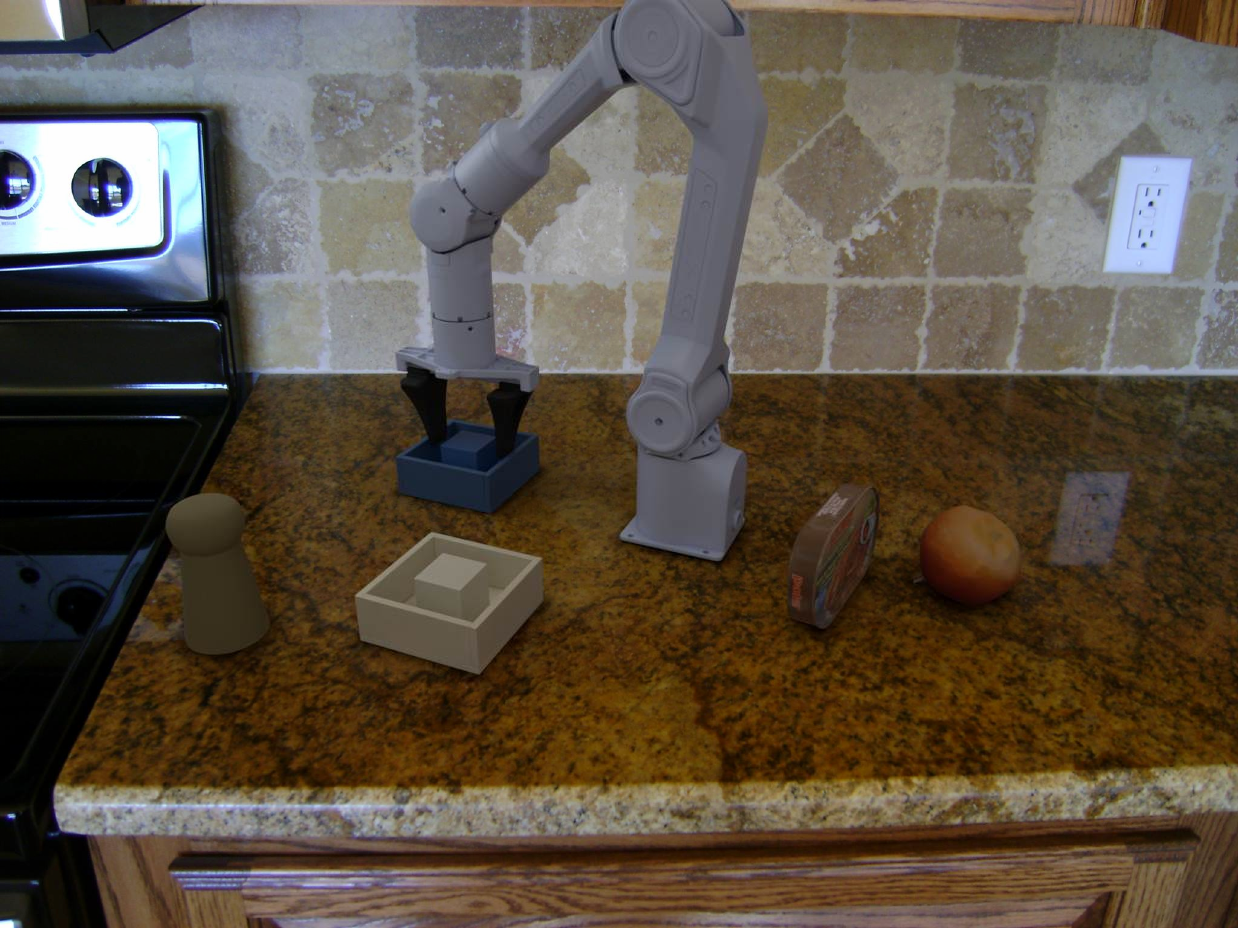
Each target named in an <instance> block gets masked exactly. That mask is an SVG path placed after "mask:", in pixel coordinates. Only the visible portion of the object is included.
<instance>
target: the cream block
mask: <svg viewBox="0 0 1238 928" xmlns="http://www.w3.org/2000/svg"><path fill="white" fill-rule="evenodd" d="M414 582H415V592H416V603H417V607H418V608H421V609H425V610H429V611H432V612H436V613H440V614H443V615H447V616H451V617H455V618H458V619H462V620H466V621H469V622H474V621H475V620H476V619H477V618H478V617H479V616H480V615H481V614H482V613H483V612H484V611H485V609H486V608H487V607H488V606H489V605H490V600H489V583H488V566H487V564H486V563H482V562H478V561H474V560H470V559H465V558H461V557H457V556H453V555H449V554H445V553H442V554H441V555H440V556H439V557H438V558H437V559H436V560H434V561H433V562H432V563H431V564H430V565H429V566H428V567H426V568H425V569H424V570H423V571H422V572H421V573H420V574H419V575H417V576H416V577H415V578H414Z"/></svg>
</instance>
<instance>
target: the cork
mask: <svg viewBox="0 0 1238 928" xmlns="http://www.w3.org/2000/svg"><path fill="white" fill-rule="evenodd" d="M245 514H246V513H245V511H244V510H243V508H242V506H241V505H240V502H239V501H237V500H236V499H235V498H234V497H233V496H230V495H228V494H223V493H220V492H219V493H217V492H207V493H200V494H195V495H191V496H189V497H185V498H184V499H182V500H181V501H179V502H176V504H174V505H173V506H172V507H171V508H170V510H169V512H168V514H167V516H166V519H165V531H166V534H167V537H168V539H169V541H170V543H171V545H172V546H173V548H175V549H177V550H178V551H179V563H180V579H181V580H180V581H181V598H182V599H181V600H182V614H183V630H184V631H183V632H184V641H185V644H186V646H187V648H189V649H190V650H192V651H193V652H194V653H198V654H202V655H211V656H212V655H215V656H218V655H219V656H220V655H226V654H232V653H235V652H238V651H242V650H244V649H246V648H248V647H251V646H252V645H253V644H256V643H257V642H259V641H260V640H261V639H262V638H264V636H266V635H267V633H268V631H269V630H270V626H271V619H270V616H269V614H268V613H269V612H268V611H267V608H266V606H265V602H264V599H263V597H262V594H261V591H260V588H259V586H258V583H257V580H256V577H255V574H254V572H253V569H252V566H251V564H250V561H249V558H248V555H247V552H246V549H245V547H244V544H243V540H242V537H243V536H244V534H245V529H246V522H247V521H246V515H245Z"/></svg>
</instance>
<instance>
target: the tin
mask: <svg viewBox="0 0 1238 928" xmlns="http://www.w3.org/2000/svg"><path fill="white" fill-rule="evenodd" d="M880 502H881V501H880V494H879V491H878V489H877V488H876V486H872V485H871V486H867V485H861V484H857V483H848V482H843V483H841V484H840V485H838V486H837V487H835V489H834V490H833V491H832V492H831V494H829V496H828V497H827V498H826V499H825V500H824V501H823V502H822V503H821V505H820V506H819V507H818V508H817V509H816V510H815V512H814V513H813V514H812V515H811V516H810V517H809V518H808V520H806V522H805V523H804V524H803V525H802V527H801V528H800V531H799V532H798V534H797V536H796V539H795V540H794V542H793V546H792V548H791V552H790V555H789V559H788V564H787V572H786V574H787V585H786V586H787V587H786V612H787V614H788V616H789V617H790V618H791V619H793V620H795V621H797V622H799V623H800V622H801V623H804V624H808V625H811V626H814V627H817V628H818V629H821V630H825V629H827V628H828V627H829V626H831V624H832V623H833V622H834V620H835V619H836V617H837V616H838V615H839V613H840V612H841V610H842V609H843V607H844V605H845V604H846V603H847V602H848V600H849V599H850V597H851V596H852V594H854V591H856V589H857V587H858V586H859V584H860V583H861V582H862V580H863V578H864V577H865V575H866V573H867V571H868V569H869V567H870V563H871V560H872V558H873V555H874V551H875V547H876V543H877V537H878V531H879V524H880V513H881V503H880Z"/></svg>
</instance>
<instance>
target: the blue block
mask: <svg viewBox="0 0 1238 928" xmlns="http://www.w3.org/2000/svg"><path fill="white" fill-rule="evenodd" d="M441 458H442V463H443V464H448V465H453V466H458V467H463V468H467V469H472V470H477V471H482V472H487V471H489V470H490V469H491V468H492V467H494V466H495V465H496V464H497V463H498V456H497V452H496V441H495V436H489V435H484V434H479V433H474V432H468V431H463V430H462V431H460V432H459V433H457V434H456V435H454V436H453V437H452V438H450V439H449V440H447V441H446V442H444V443H443V444H442V445H441Z"/></svg>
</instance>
